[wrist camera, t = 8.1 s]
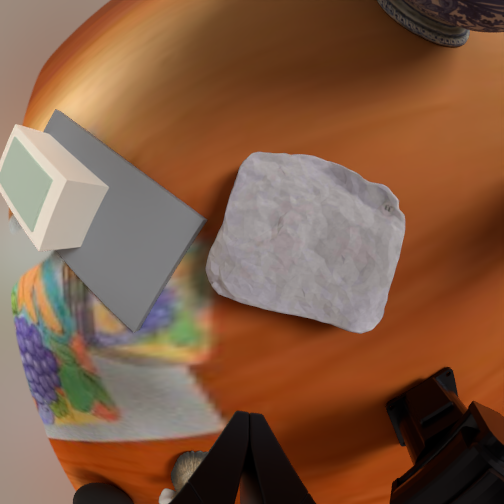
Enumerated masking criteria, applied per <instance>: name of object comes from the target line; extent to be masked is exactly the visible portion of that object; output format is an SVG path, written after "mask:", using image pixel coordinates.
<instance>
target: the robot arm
mask: <svg viewBox="0 0 504 504" xmlns="http://www.w3.org/2000/svg"><path fill="white" fill-rule="evenodd" d="M447 372H448V374H446V373H447ZM392 405H393V406H392ZM390 406H392V407H390ZM385 407H386V410H387V412H388V415H389V417H390V420H391V422H392V424H393V427H394V429H395V432H396V434H397V437H398V440H399V442H400V445H401V446H406V447H407V449H408V452H409V455H410V457H411V460H412V462H413V465H414V466H413V467H412V468H411V469H409V470H408V471H407V472H406V473H405V474H404V475H402V476H401V477H400V478H397V479H396V480H395V481H393V483H392V490H391V497H390V504H504V417H503V416H502V415H501V414H500V413H498V412H496V411H494V410H492V409H490V408H488V407H485V406H483V405H481V404H479V403H477V402H475V401H472V403H471V404H470V405H469V407H468V409H467V408H466V407H465V406H464V404H463V403H462V402H461V401H460V399H459V398H458V394H457V388H456V383H455V378H454V374H453V370H452V369H451V368H450V367H446V368H445V369H443V370H442V371H440V372H439V373H437V374H436V375H434V376H432V377H431V378H429V379H428V380H426V381H424V382H423V383H421V384H420V385H418V386H416V387H414V388H413V389H411V390H409V391H408V392H406V393H404V394H402V395H400V396H399V397H397V398H395V399H393V400H391V401H389V402H388V403H387V404H386V406H385ZM239 483H240V503H241V504H316V503H315V501H314V500H313V498H312V497H311V495H310V494H309V493H308V491H307V489H306V487H305V486H304V484H303V483H302V481H301V479H300V478H299V476H298V475H297V473H296V471H295V470H294V468H293V466H292V465H291V463H290V461H289V460H288V458H287V456H286V455H285V453H284V451H283V450H282V448H281V446H280V444H279V443H278V441H277V439H276V437H275V436H274V434H273V432H272V430H271V428H270V427H269V425H268V423H267V421H266V419H265V418H264V416H263V415H262V414H259V413H250V414H249V413H248V412H244V411H236V412H235V413H234V415H233V416H232V418H231V419H230V421H229V422H228V424H227V425H226V427H225V428H224V430H223V431H222V433H221V434H220V436H219V437H218V439H217V440H216V442H215V443H214V445H213V446H212V448H211V449H210V450H209V452H208V453H207V455H206V456H205V458H204V459H203V460H202V462H201V463H200V464H199V466H198V467H197V469H196V470H195V471H194V473H193V474H192V475H191V477H190V478H189V479H188V481H187V482H186V483H185V485H184V486H183V487H182V488H181V490H180V491H179V492H178V493H177V495H176V496H175V497H174V498H173V499H172V500H171V501H170V502H169V503H168V504H234V503H235V499H236V495H237V491H238V487H239ZM307 493H308V494H307Z"/></svg>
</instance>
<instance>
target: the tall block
mask: <svg viewBox="0 0 504 504" xmlns="http://www.w3.org/2000/svg"><path fill="white" fill-rule="evenodd" d="M108 189H109V187H108V186H107V185H106V184H105V183H104V182H103V181H101V180H100V179H99V178H98V177H97V176H96V175H94V174H93V173H92V172H91V171H90V170H89V169H88V168H87V167H85V166H84V165H83V164H82V163H81V162H80V161H79V160H77V159H76V158H75V157H74V156H73V155H72V154H71V153H70V152H69V151H67V150H66V149H65V148H64V147H63V146H62V145H61V144H60V143H59V142H58V141H56V140H55V139H54V138H53V137H52V136H51V135H50V134H48V133H44V132H41V131H38V130H35V129H31V128H28V127H24V126H21V125H17V124H15V126H14V129H13V131H12V133H11V136H10V138H9V140H8V142H7V145H6V147H5V150H4V153H3V155H2V157H1V160H0V192H1V194H2V196H3V197H4V199H5V201H6V202H7V204H8V206H9V208H10V209H11V211H12V212H13V214H14V216H15V217H16V219H17V220H18V222H19V223H20V225H21V227H22V228H23V230H24V231H25V232H26V234H27V235H28V237H29V238H30V240H31V241H32V243H33V244H34V245H35V247H36V248H37V249H38V251H39V252H40V251H49V250H58V249H67V248H76V247H81V245H82V243H83V240H84V238H85V236H86V233H87V231H88V229H89V227H90V225H91V223H92V220H93V218H94V216H95V214H96V212H97V210H98V208H99V206H100V204H101V202H102V200H103V198H104V196H105V194H106V193H107V191H108Z"/></svg>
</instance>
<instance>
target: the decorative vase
mask: <svg viewBox="0 0 504 504" xmlns="http://www.w3.org/2000/svg"><path fill="white" fill-rule="evenodd" d="M377 1H378V3H379V5H380V6H381V7H382V8H383V10H384V11H385V12H386V13H387V14H388V15H389V16H390V17H391V18H392V19H394V20H395V21H396V22H397V23H399V24H400V25H402V26H403V27H404V28H406V29H407V30H409V31H411V32H412V33H414V34H416V35H419V36H420V37H422V38H424V39H426V40H428V41H431V42H433V43H436V44H439V45H443V46H448V47H458V46H462V45H464V44H465V43H466V41H467V40H468V38H469V34H470V30H472V31H478V32H504V0H377Z"/></svg>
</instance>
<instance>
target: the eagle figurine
mask: <svg viewBox="0 0 504 504" xmlns="http://www.w3.org/2000/svg"><path fill="white" fill-rule="evenodd" d="M207 453H208V452H202V451H197V452H196V453H194V451H191V452H190V453H189V452H186V453H184V454H183V455H180V457H179V458H178V459H177V462H176V463H175V467H174V468H173V470H172V472H171V480H172V483H173V486H174V487H175V490H176V491H174V490H171V489H167V488H166V489H164V490H163V491H162V493H161V495H160V496H159V503H160V504H168V503H169V502H170V501H171V500H172V499H173V498H174V497H175V496H176V495H177V493H178V492H179V491H180V490H181V488H182V487H183V486H184V485H185V483H186V482H187V481H188V479H189V478H190V477H191V475H192V474H193V473H194V471H195V470H196V469H197V467H198V466H199V464H200V463H201V462H202V460H203V459H204V458H205V456H206V455H207Z"/></svg>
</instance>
